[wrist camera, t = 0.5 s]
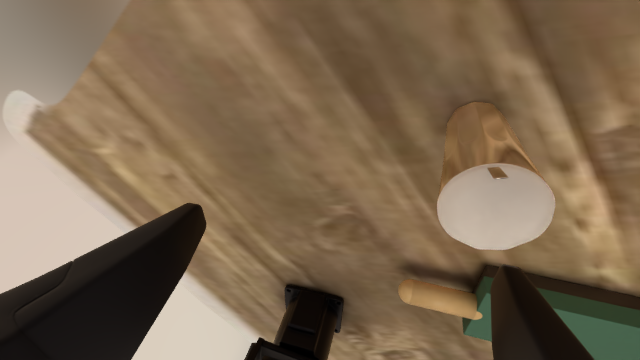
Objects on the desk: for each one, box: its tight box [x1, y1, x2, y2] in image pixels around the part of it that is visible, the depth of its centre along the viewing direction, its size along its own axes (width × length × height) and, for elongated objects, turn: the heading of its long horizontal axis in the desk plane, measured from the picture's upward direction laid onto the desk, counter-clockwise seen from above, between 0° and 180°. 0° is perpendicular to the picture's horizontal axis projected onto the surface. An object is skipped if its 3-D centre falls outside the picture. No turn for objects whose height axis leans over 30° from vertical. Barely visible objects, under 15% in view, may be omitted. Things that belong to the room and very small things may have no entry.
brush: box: [398, 265, 640, 360], centre depth 26 cm, size 22×6×3 cm, turn 89°
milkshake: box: [437, 101, 555, 250], centre depth 17 cm, size 5×5×10 cm
